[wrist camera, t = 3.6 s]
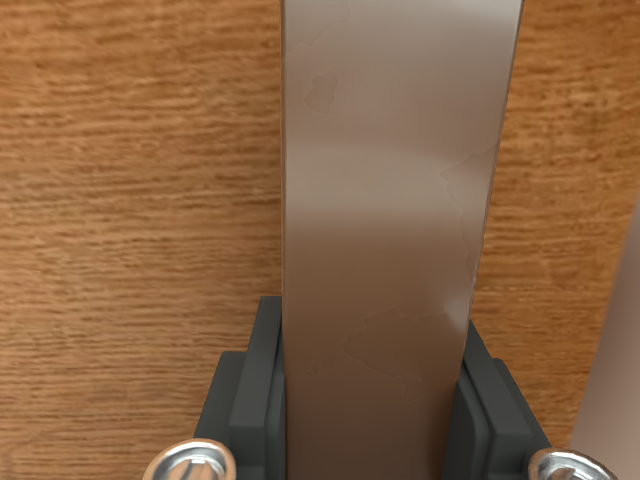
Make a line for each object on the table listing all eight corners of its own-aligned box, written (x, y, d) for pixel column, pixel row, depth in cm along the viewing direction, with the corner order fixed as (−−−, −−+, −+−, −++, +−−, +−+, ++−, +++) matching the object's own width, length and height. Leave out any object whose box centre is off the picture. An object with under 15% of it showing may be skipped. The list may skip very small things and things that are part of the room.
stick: (294, -43, 8) (277, -91, 5) (466, -38, 8) (541, -84, 5) (292, 562, 14) (285, 688, 11) (390, 565, 14) (407, 691, 11)
